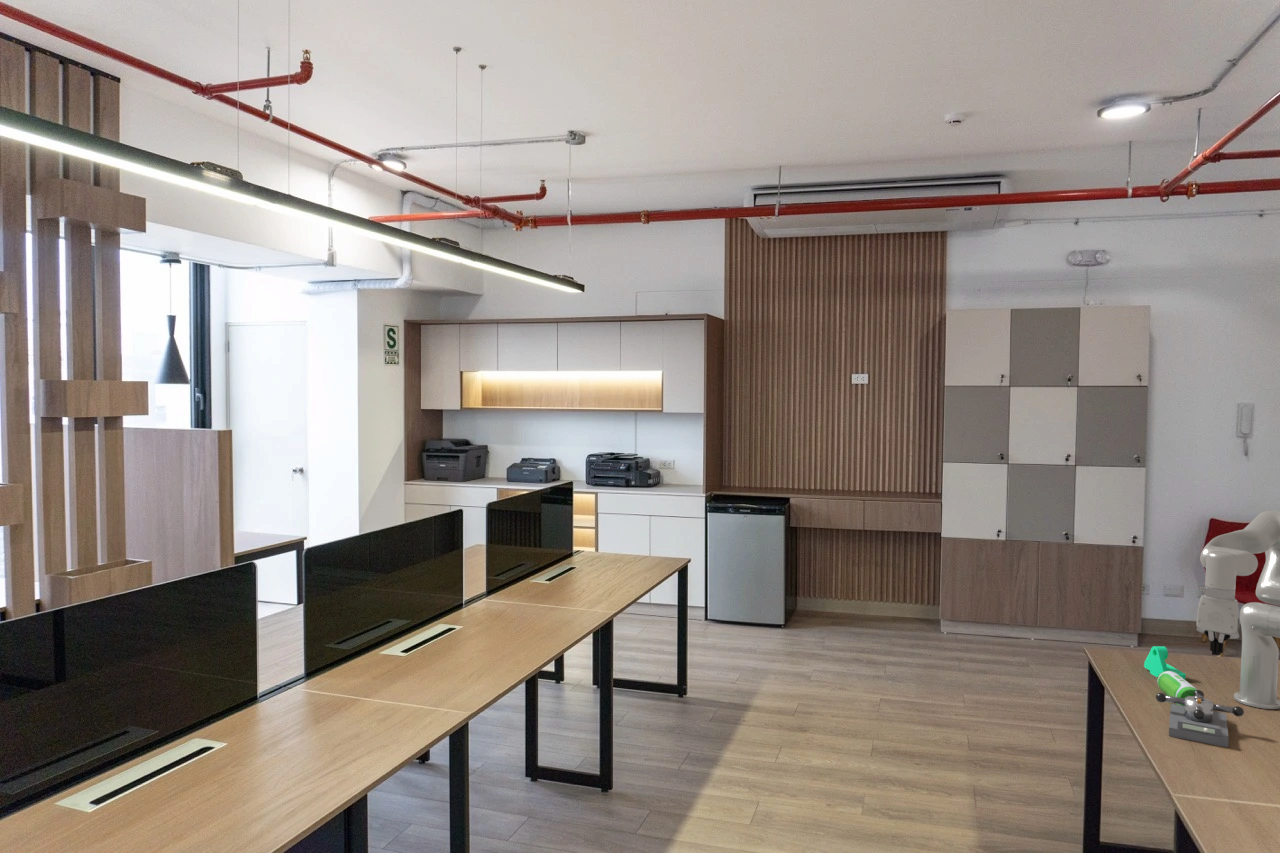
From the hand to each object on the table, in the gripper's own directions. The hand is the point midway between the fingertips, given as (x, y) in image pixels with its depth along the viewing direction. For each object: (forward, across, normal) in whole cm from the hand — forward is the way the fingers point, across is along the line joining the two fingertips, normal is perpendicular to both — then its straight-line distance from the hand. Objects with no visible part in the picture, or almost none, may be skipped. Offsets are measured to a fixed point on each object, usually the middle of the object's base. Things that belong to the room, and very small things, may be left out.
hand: (1216, 654), depth 256 cm
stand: (+20, -1, -10) cm, 23 cm away
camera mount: (+20, -23, +34) cm, 46 cm away
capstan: (+18, -2, -7) cm, 19 cm away
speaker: (+20, -12, +11) cm, 26 cm away
